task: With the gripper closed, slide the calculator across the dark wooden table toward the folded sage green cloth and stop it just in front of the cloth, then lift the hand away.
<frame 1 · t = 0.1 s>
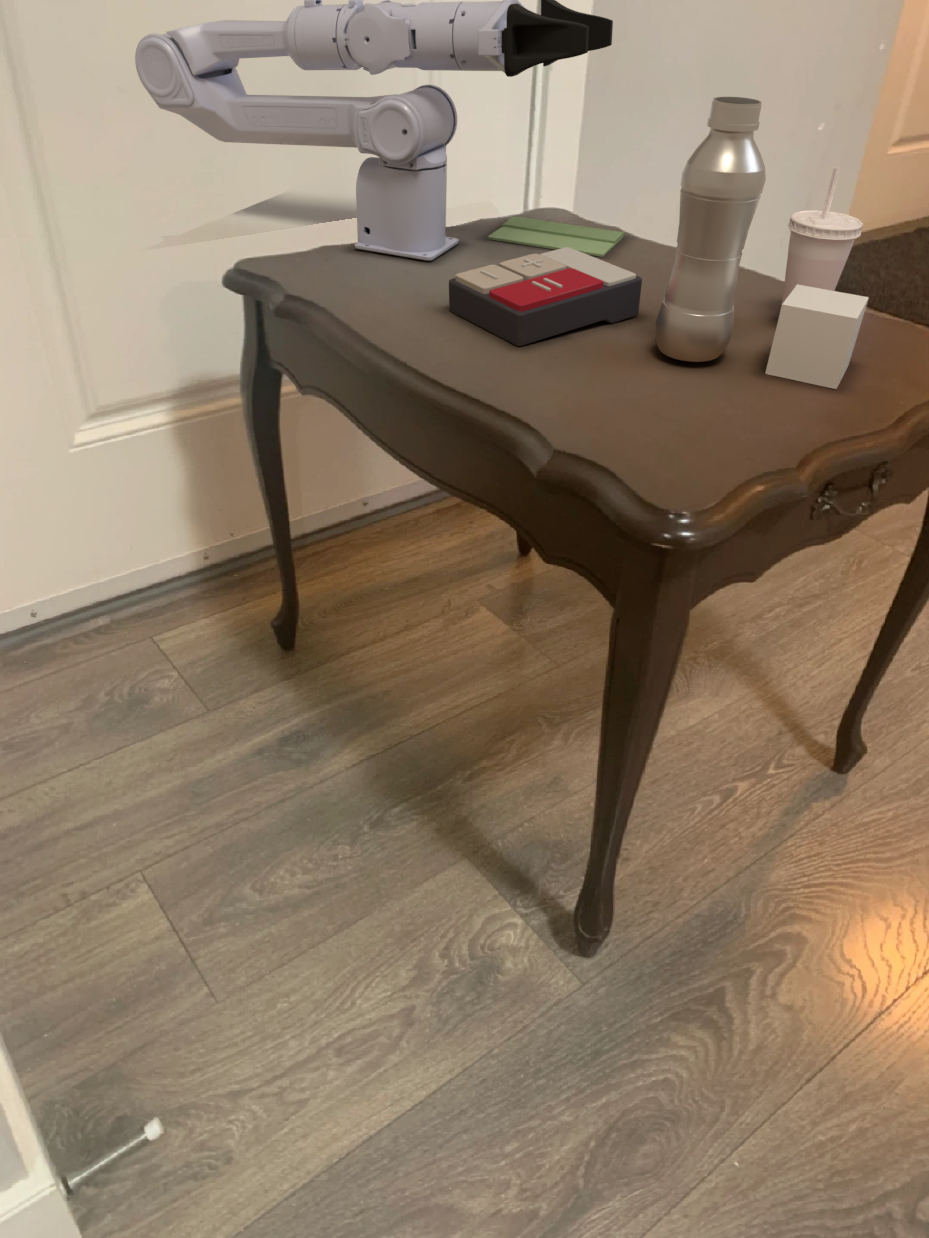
hand: (599, 36, 86), 22 cm above the table, tool horizontal, fingers open, 7 cm apart
cloth: (556, 238, 110), on the table
smoothie: (799, 327, 90), on the table
off-white cube: (806, 371, 81), on the table
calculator: (543, 316, 90), on the table
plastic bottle: (688, 358, 82), on the table
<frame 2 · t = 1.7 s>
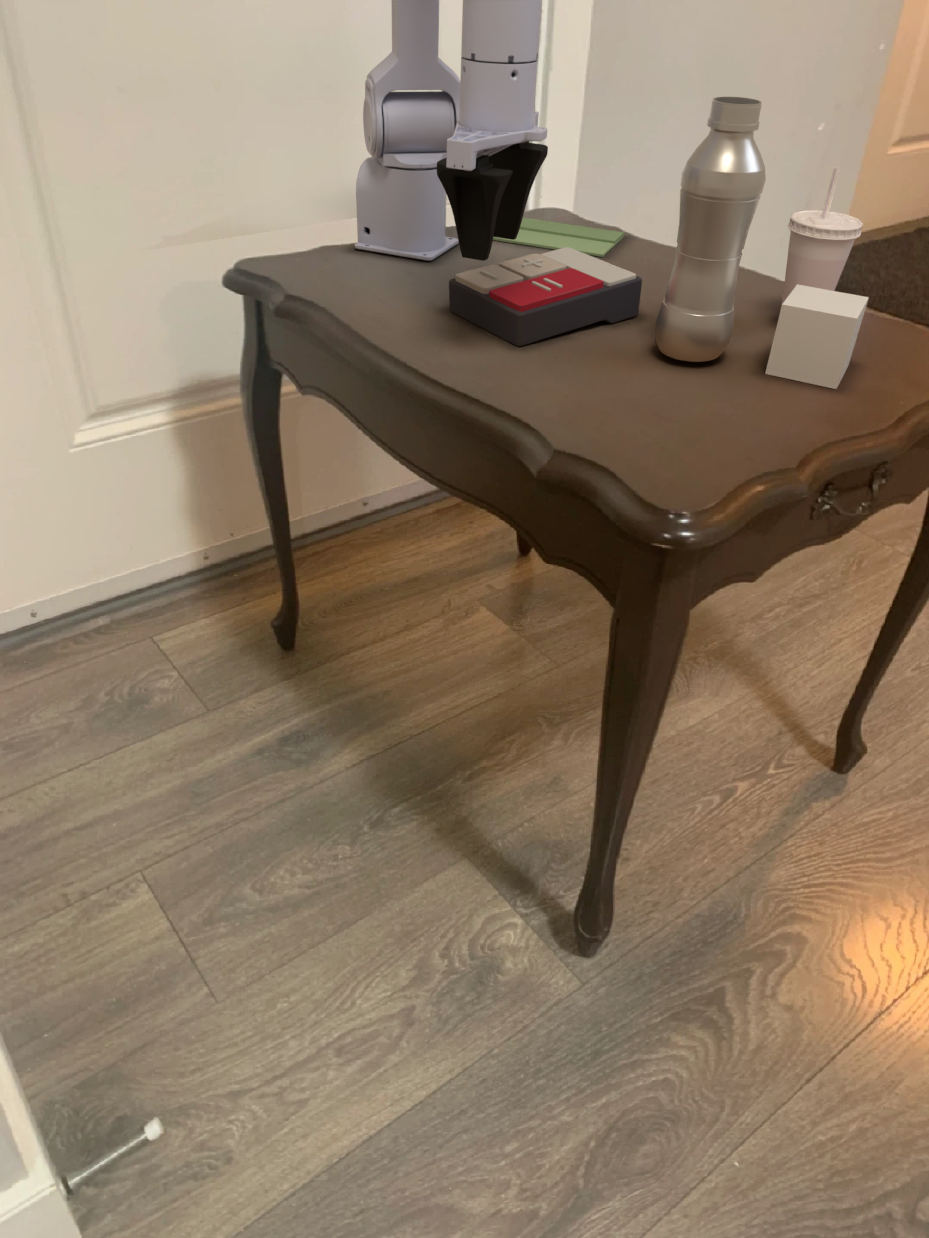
hand: (490, 247, 78), 8 cm above the table, tool pointing down, fingers open, 6 cm apart
nothing on the table moved.
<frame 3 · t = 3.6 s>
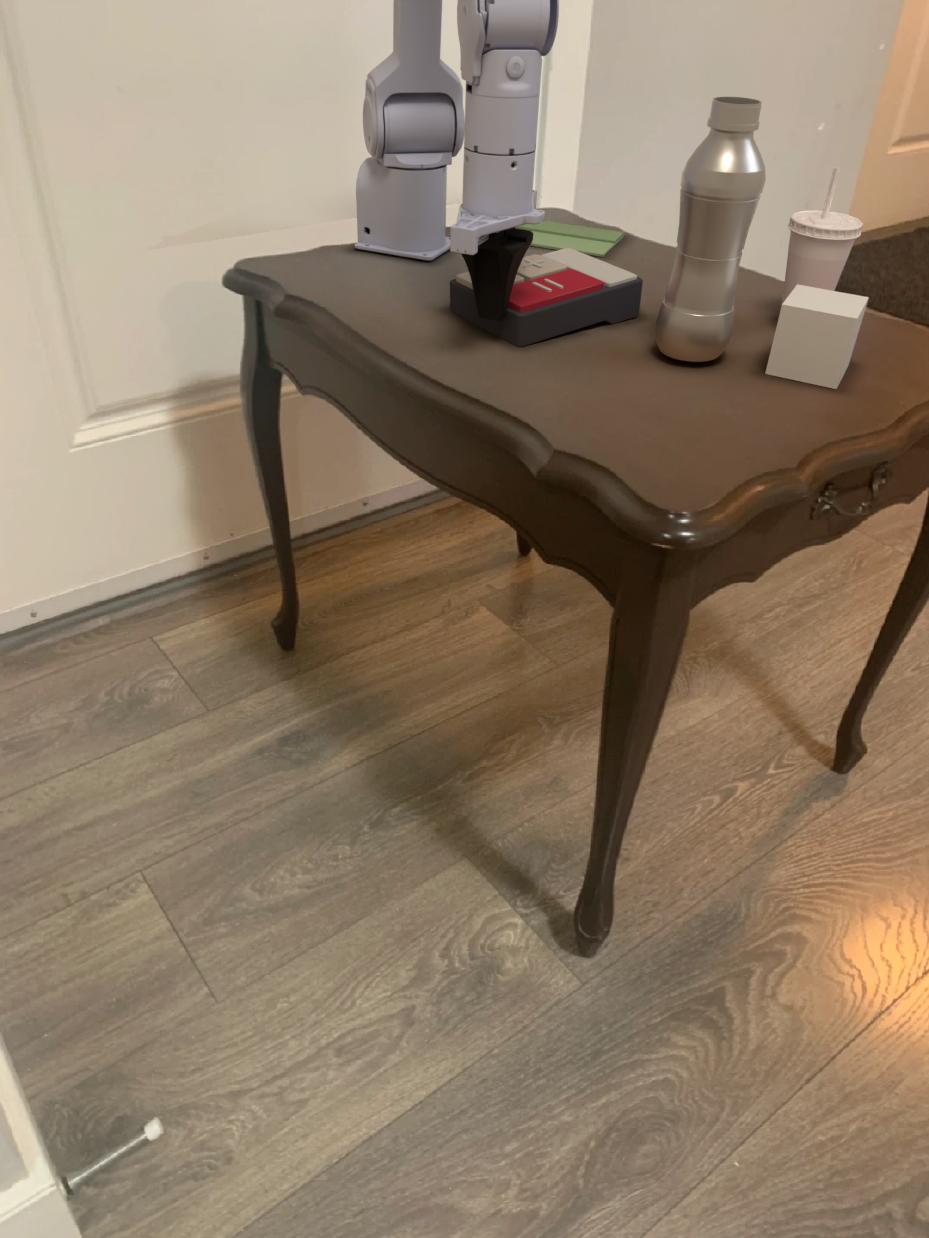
hand: (491, 317, 82), 2 cm above the table, tool pointing down, fingers closed
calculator: (543, 316, 90), on the table, touching gripper
everything else where it was.
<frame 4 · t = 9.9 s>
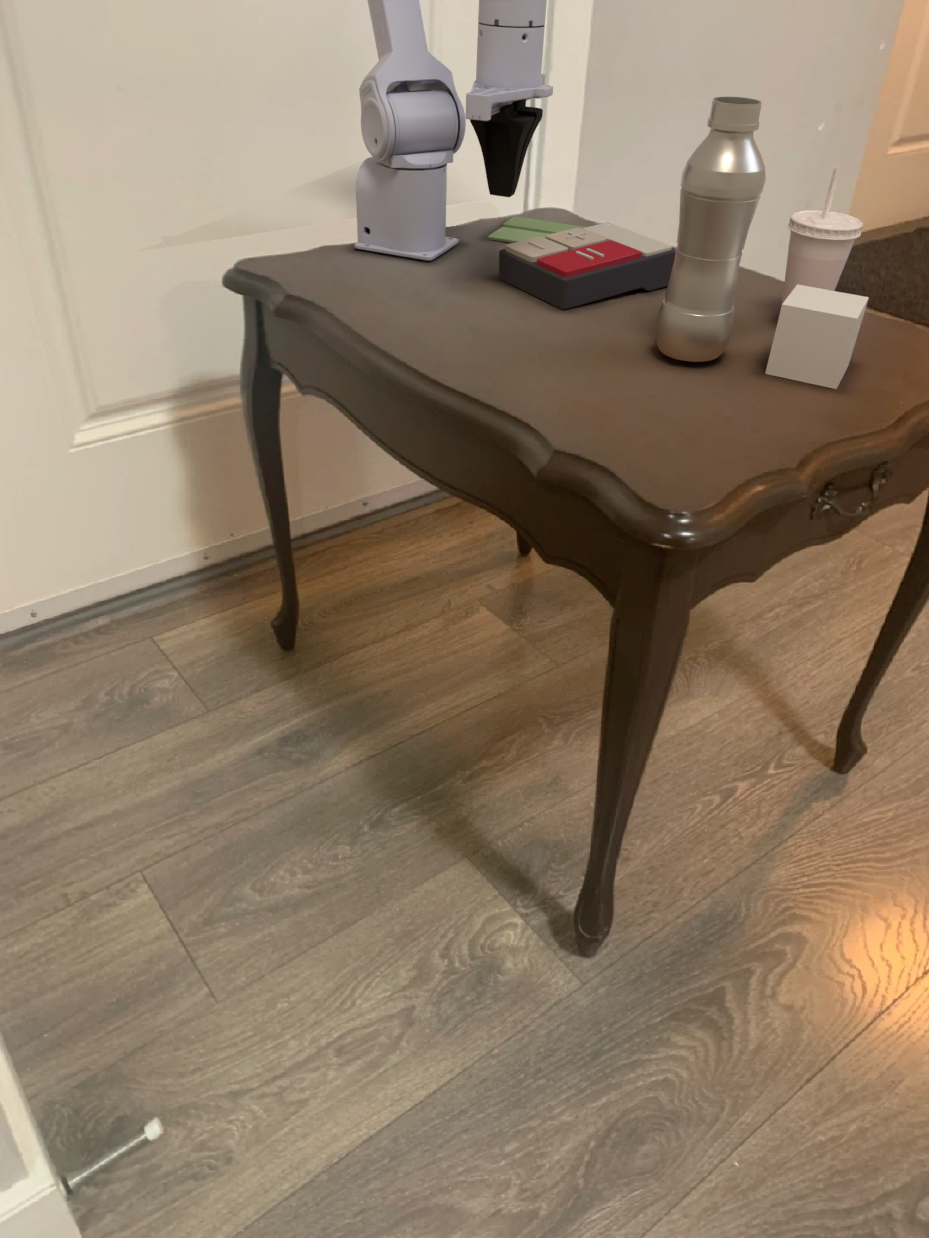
hand: (502, 194, 88), 9 cm above the table, tool pointing down, fingers closed
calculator: (584, 284, 98), on the table
everything else where it was.
at the end: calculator inside the target area on the table beside the cloth (2.8 cm from its centre), on the table; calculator moved 11.0 cm from its start; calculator tilted 1° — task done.
